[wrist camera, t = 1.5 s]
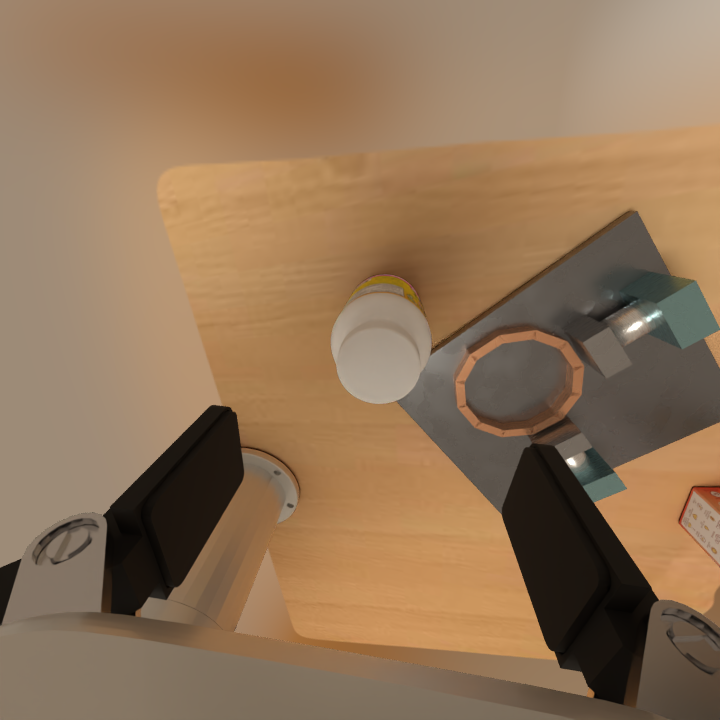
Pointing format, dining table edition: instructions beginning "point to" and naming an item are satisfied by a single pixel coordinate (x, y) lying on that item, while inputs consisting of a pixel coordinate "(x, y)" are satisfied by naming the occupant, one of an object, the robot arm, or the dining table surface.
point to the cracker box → (704, 519)
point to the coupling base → (575, 368)
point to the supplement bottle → (381, 340)
